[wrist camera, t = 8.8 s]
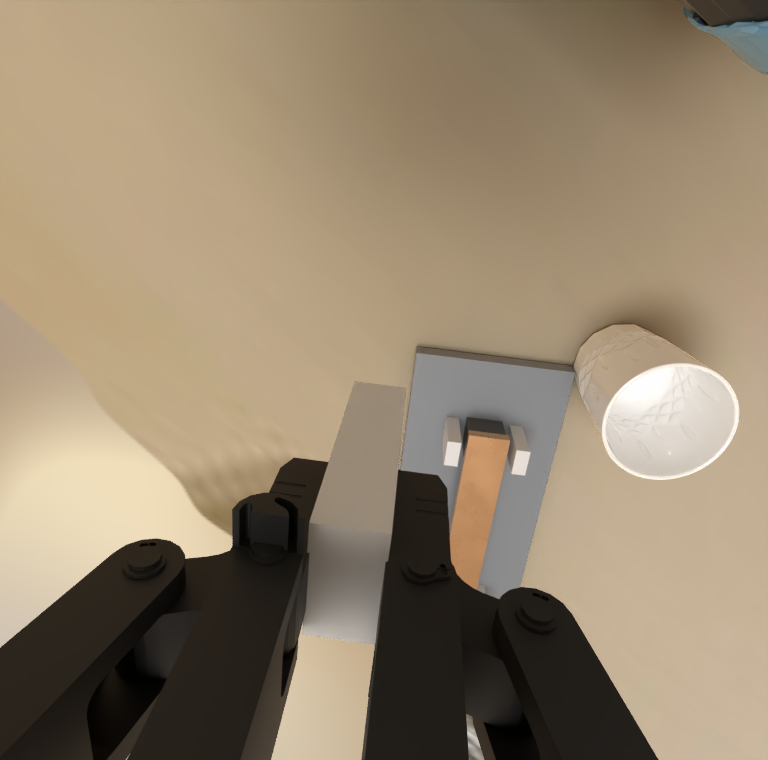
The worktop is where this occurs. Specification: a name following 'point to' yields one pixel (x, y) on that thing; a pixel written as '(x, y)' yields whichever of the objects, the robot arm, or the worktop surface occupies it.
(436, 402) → the mount
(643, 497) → the worktop surface
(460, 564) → the strap
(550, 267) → the worktop surface
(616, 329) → the white cup
